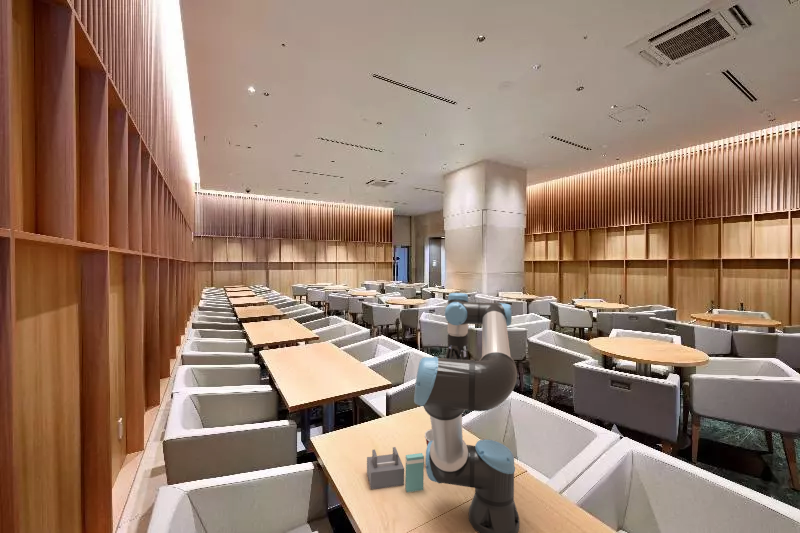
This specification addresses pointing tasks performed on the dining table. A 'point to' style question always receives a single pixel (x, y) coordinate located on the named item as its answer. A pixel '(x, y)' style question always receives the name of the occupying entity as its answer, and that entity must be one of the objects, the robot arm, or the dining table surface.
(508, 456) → the robot arm
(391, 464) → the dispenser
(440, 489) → the dining table surface
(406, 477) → the teal flat box
